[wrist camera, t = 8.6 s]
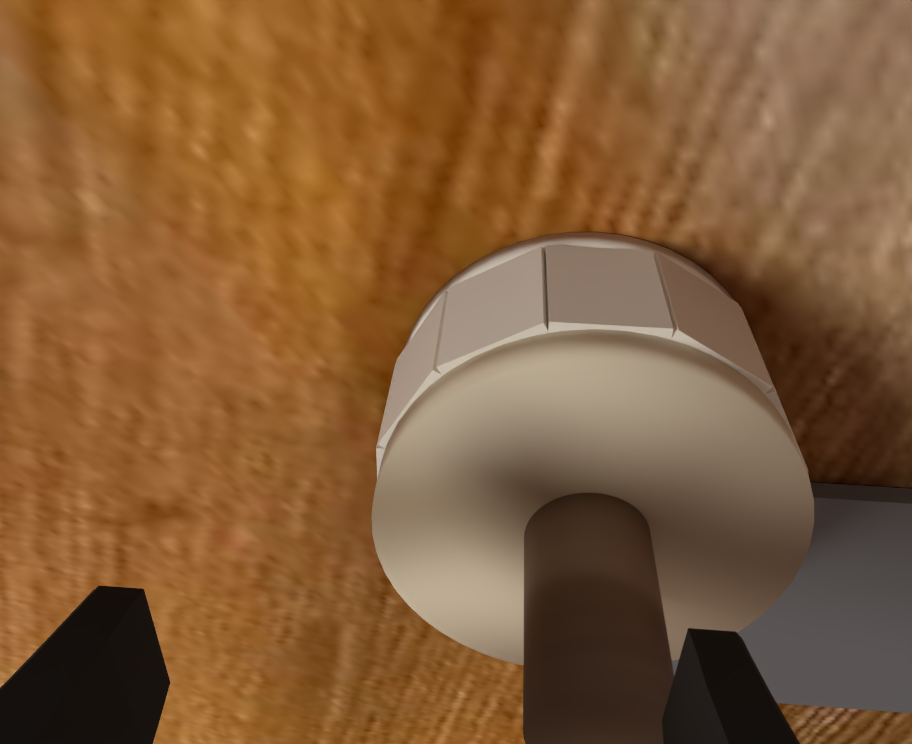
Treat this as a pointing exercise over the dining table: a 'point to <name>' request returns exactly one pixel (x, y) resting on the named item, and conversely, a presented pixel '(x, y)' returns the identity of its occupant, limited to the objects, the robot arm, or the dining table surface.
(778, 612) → the mat
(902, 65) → the dining table surface
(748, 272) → the dining table surface
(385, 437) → the bowl
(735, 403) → the lid
